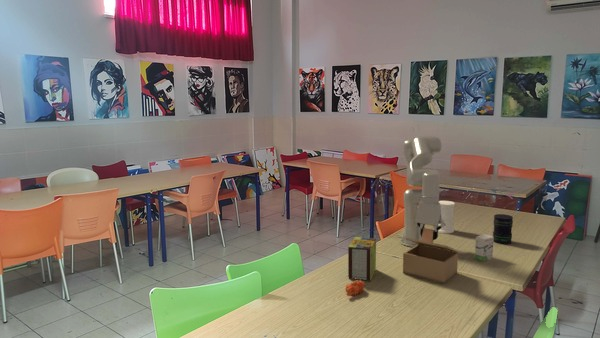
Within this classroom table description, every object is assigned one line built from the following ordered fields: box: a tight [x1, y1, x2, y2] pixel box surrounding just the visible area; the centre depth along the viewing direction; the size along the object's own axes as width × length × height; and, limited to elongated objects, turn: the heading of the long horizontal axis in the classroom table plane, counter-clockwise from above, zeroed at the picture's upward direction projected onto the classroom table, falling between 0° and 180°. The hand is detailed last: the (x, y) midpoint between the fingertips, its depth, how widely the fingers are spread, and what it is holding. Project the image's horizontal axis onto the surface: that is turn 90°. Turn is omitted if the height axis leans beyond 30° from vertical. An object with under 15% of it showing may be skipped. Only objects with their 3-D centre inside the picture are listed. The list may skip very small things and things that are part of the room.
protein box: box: [347, 236, 377, 282], centre depth 208 cm, size 10×15×16 cm
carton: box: [402, 244, 459, 285], centre depth 208 cm, size 20×16×10 cm
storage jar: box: [492, 213, 514, 245], centre depth 252 cm, size 10×10×15 cm
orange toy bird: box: [345, 279, 366, 297], centre depth 188 cm, size 5×8×12 cm
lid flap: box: [405, 227, 459, 253], centre depth 208 cm, size 20×16×7 cm
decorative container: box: [438, 200, 456, 235], centre depth 274 cm, size 12×12×18 cm
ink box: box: [474, 233, 494, 262], centre depth 226 cm, size 9×5×12 cm, turn 123°
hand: (428, 237), depth 204 cm, fingers closed on lid flap, 5 cm apart
